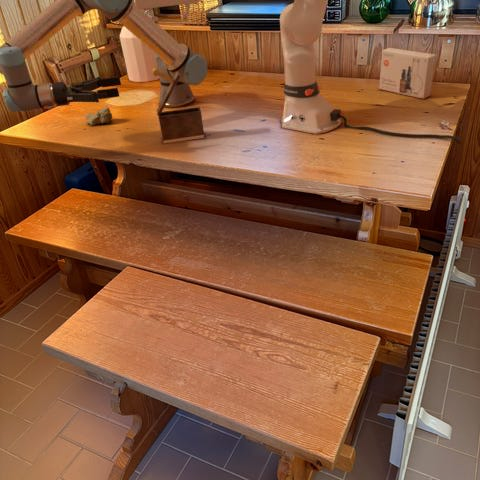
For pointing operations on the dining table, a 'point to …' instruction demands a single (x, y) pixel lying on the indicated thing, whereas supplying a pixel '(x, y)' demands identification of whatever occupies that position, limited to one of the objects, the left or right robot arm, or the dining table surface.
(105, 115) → the rock
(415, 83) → the skincare box
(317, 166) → the dining table surface
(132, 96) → the dining table surface
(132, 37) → the container
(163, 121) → the chest
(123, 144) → the dining table surface
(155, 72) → the lid
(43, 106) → the left robot arm
